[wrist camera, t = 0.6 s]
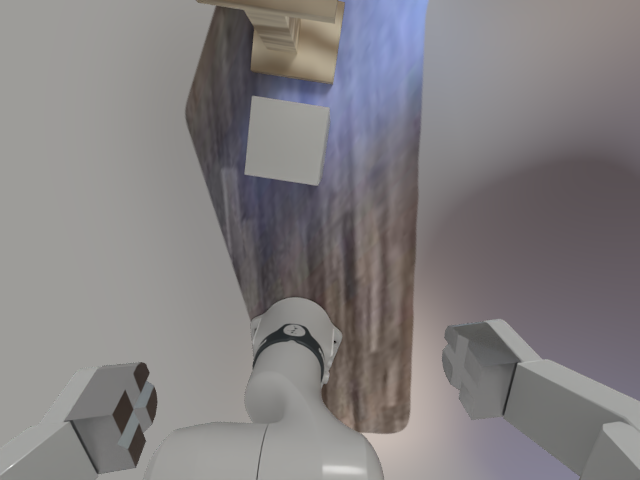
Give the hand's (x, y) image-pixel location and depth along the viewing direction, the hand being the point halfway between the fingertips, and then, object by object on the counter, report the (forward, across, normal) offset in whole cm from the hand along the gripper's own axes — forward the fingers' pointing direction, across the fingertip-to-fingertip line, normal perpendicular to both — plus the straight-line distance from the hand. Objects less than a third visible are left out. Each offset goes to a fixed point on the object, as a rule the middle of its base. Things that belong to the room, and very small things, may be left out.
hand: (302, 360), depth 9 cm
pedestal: (+56, +3, -3) cm, 56 cm away
